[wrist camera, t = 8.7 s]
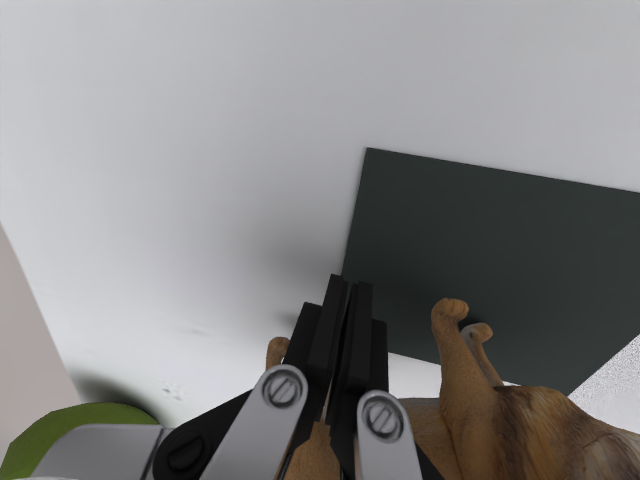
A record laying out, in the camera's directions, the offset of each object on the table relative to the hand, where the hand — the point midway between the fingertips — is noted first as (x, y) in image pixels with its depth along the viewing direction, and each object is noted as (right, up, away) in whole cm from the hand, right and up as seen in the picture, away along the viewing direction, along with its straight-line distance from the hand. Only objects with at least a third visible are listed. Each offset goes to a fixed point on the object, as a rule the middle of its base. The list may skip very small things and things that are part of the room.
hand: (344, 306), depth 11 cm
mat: (+6, 0, 0) cm, 6 cm away
